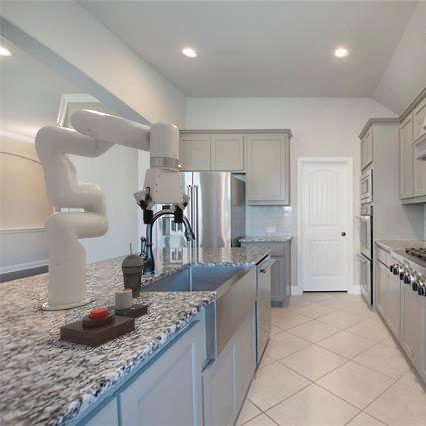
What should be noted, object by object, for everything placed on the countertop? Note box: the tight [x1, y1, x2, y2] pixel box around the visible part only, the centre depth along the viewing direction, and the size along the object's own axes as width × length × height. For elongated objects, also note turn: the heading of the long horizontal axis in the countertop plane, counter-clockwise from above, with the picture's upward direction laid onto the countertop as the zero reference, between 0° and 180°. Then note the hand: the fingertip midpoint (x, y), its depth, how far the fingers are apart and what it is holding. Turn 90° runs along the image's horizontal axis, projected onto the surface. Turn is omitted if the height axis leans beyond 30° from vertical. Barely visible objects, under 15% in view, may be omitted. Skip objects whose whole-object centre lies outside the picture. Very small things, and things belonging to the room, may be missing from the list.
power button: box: [89, 307, 108, 318], centre depth 72 cm, size 4×4×2 cm
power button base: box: [59, 311, 136, 348], centre depth 72 cm, size 12×10×5 cm
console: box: [106, 302, 149, 319], centre depth 86 cm, size 10×8×3 cm
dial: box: [114, 288, 133, 310], centre depth 86 cm, size 4×4×5 cm
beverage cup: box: [120, 242, 145, 299], centre depth 106 cm, size 7×7×20 cm
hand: (164, 223), depth 83 cm, fingers open, 9 cm apart
